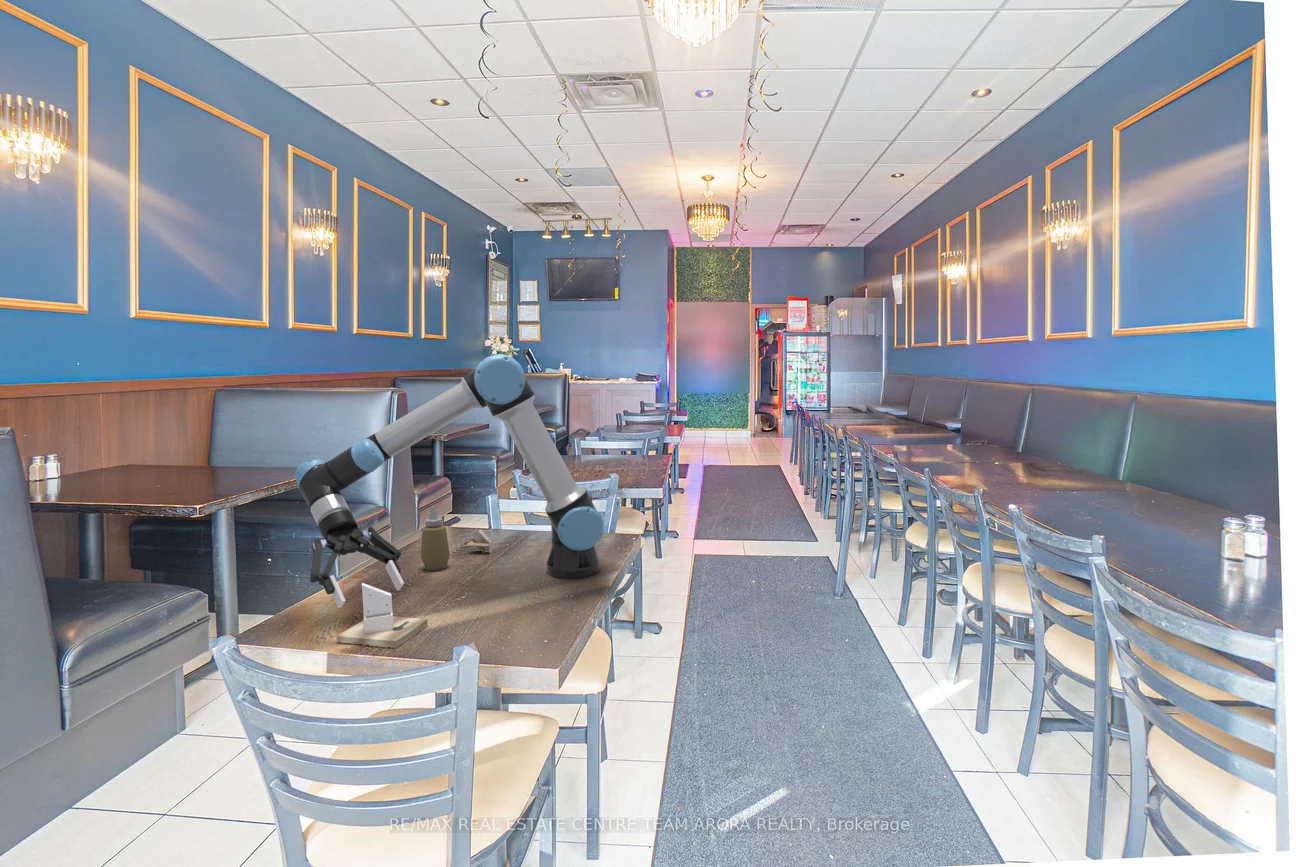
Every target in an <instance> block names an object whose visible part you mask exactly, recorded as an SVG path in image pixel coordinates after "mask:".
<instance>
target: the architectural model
mask: <svg viewBox="0 0 1300 867" xmlns="http://www.w3.org/2000/svg"><path fill="white" fill-rule="evenodd" d="M473 533H474V537H473V538H472V540H473V541H472V540H471V541H470V542H469V541H468V543H466V546H471V547H473V546H474V548H475V550H476V551H482V552H481V553H483V554H484V553H485V551H488V552H487V553H490V554H492V553H493V542H492V530H491V529H490V530H489V529H488V530H487V529H485V530H484V529H474V532H473ZM491 552H492V553H491ZM485 554H486V553H485Z"/></svg>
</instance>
